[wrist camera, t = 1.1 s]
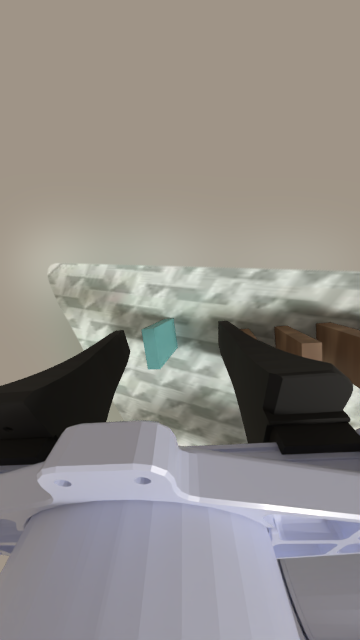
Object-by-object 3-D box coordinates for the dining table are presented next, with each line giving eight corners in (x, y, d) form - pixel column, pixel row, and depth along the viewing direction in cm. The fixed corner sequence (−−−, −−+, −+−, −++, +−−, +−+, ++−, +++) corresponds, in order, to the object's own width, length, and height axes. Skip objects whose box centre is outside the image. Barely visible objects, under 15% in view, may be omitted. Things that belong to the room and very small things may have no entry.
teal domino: (173, 318, 26) (153, 328, 19) (177, 347, 27) (160, 369, 19) (164, 319, 27) (141, 329, 19) (168, 348, 27) (148, 369, 20)
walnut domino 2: (330, 322, 21) (393, 339, 13) (330, 358, 22) (390, 394, 14) (316, 323, 21) (369, 340, 14) (316, 359, 22) (367, 393, 14)
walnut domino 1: (287, 325, 22) (321, 342, 15) (288, 359, 23) (322, 393, 15) (274, 326, 23) (301, 343, 15) (276, 360, 23) (303, 392, 16)
